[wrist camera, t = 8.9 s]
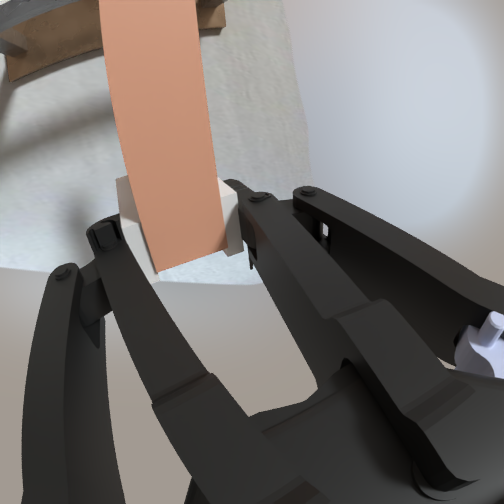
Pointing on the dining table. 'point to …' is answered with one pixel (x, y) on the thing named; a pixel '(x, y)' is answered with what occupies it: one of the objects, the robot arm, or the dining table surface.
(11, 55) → the stand
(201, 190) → the c link
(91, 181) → the dining table surface
